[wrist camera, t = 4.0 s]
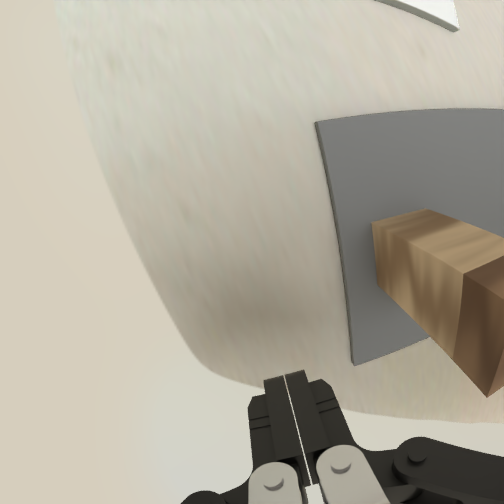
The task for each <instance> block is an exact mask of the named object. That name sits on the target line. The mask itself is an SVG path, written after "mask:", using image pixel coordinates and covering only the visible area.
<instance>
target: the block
mask: <svg viewBox="0 0 504 504" xmlns="http://www.w3.org/2000/svg"><path fill="white" fill-rule="evenodd" d="M371 224H372V232H373V241H374V250H375V261H376V273H377V285H378V286H379V287H380V288H381V289H383V290H384V291H385V292H386V293H387V294H388V295H389V296H390V297H391V298H392V299H393V300H394V301H395V302H396V303H397V304H398V305H399V306H400V307H401V308H402V309H403V310H404V311H405V312H406V313H407V314H408V315H409V316H410V317H411V318H412V319H413V320H414V321H415V322H416V323H417V324H418V325H419V326H420V327H421V328H422V329H423V330H424V331H425V332H426V333H427V334H428V335H429V336H430V337H431V338H432V339H433V340H434V341H435V342H436V343H437V344H438V345H439V346H440V347H441V348H442V349H443V350H444V351H445V352H446V353H447V354H448V355H449V356H450V358H451V359H452V360H453V361H454V362H455V363H456V364H457V365H458V366H459V367H460V368H461V369H462V370H463V372H464V373H465V374H466V375H467V376H468V377H469V378H470V379H471V380H472V381H473V383H474V384H475V385H476V386H477V387H478V388H479V389H480V390H481V392H482V393H483V394H484V395H485V396H486V397H489V396H490V395H492V394H493V393H494V392H496V391H497V390H499V389H500V388H502V387H503V386H504V238H503V237H501V236H498V235H496V234H493V233H491V232H488V231H486V230H483V229H481V228H478V227H476V226H473V225H471V224H468V223H465V222H463V221H460V220H457V219H455V218H452V217H449V216H446V215H443V214H441V213H438V212H435V211H432V210H429V209H426V208H425V209H421V210H417V211H413V212H409V213H405V214H402V215H398V216H394V217H390V218H386V219H382V220H378V221H374V222H371Z"/></svg>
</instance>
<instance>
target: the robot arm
mask: <svg viewBox="0 0 504 504" xmlns="http://www.w3.org/2000/svg"><path fill="white" fill-rule="evenodd" d="M285 378H286V382H287V386H288V390H289V394H290V398H291V402H292V405H293V410H294V414H295V417H296V421H297V425H298V429H299V433H300V437H301V441H302V445H303V449H304V453H305V457H306V460H307V464H308V468H309V472H310V476H311V479H312V483H313V484H318V483H319V486H320V489H321V493H322V497H323V502H324V504H504V457H501V456H496V455H491V454H487V453H482V452H478V451H474V450H470V449H465V448H462V447H458V446H454V445H451V444H447V443H444V442H440V441H437V440H433V439H430V438H426V437H414V438H411V439H408V440H406V441H404V442H403V443H402V444H401V445H400V446H399V447H398V448H397V449H393V450H384V451H369V450H366V449H363V448H361V447H360V446H359V445H357V444H356V442H355V441H354V439H353V437H352V435H351V432H350V430H349V428H348V425H347V423H346V420H345V418H344V416H343V413H342V411H341V408H340V406H339V404H338V401H337V399H336V397H335V394H334V392H333V390H332V387H331V386H330V385H329V384H327V383H326V382H325V381H324V380H322V379H320V380H316V381H313V382H308V380H307V377H306V374H305V371H304V370H301V371H297V372H293V373H290V374H286V375H285ZM264 388H265V394H263V395H259V396H254V397H252V400H251V402H250V404H249V406H248V417H249V428H250V439H251V448H252V458H253V470H252V473H251V475H250V477H249V478H248V479H247V481H246V482H245V483H243V484H242V485H240V486H239V487H237V488H234V489H232V490H230V491H227V492H225V493H222V494H217V493H215V492H212V491H199V492H195V493H193V494H191V495H189V496H188V497H187V498H186V499H185V500H184V501H183V502H182V503H181V504H308V498H307V494H306V489H305V487H306V486H310V485H311V484H310V480H309V476H308V472H307V468H306V464H305V460H304V456H303V452H302V448H301V444H300V440H299V435H298V431H297V428H296V423H295V420H294V415H293V412H292V408H291V404H290V400H289V396H288V393H287V389H286V385H285V381H284V378H283V375H282V376H279V377H275V378H270V379H266V380H264Z"/></svg>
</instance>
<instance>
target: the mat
mask: <svg viewBox="0 0 504 504" xmlns="http://www.w3.org/2000/svg"><path fill="white" fill-rule="evenodd" d="M315 126H316V130H317V134H318V138H319V143H320V147H321V151H322V156H323V160H324V165H325V170H326V175H327V180H328V185H329V190H330V195H331V200H332V206H333V211H334V217H335V223H336V229H337V235H338V242H339V248H340V255H341V262H342V269H343V277H344V285H345V293H346V302H347V311H348V321H349V331H350V343H351V356H352V363H353V365H354V366H357V365H360V364H362V363H365V362H368V361H371V360H374V359H376V358H379V357H382V356H384V355H387V354H390V353H392V352H395V351H397V350H400V349H402V348H405V347H407V346H410V345H412V344H414V343H417V342H419V341H421V340H424V339H426V338H428V337H430V336H429V335H428V334H427V333H426V332H425V331H424V330H423V329H422V328H421V327H420V326H419V325H418V324H417V323H416V322H415V321H414V320H413V319H412V318H411V317H410V316H409V315H408V314H407V313H406V312H405V311H404V310H403V309H402V308H401V307H400V306H399V305H398V304H397V303H396V302H395V301H394V300H393V299H392V298H391V297H390V296H389V295H388V294H387V293H386V292H385V291H384V290H383V289H381V288H380V287H379V286H378V285H377V273H376V261H375V250H374V241H373V232H372V224H371V222H374V221H378V220H382V219H386V218H390V217H394V216H398V215H402V214H405V213H409V212H413V211H417V210H421V209H425V208H426V209H429V210H432V211H435V212H438V213H441V214H443V215H446V216H449V217H452V218H455V219H457V220H460V221H463V222H465V223H468V224H471V225H473V226H476V227H478V228H481V229H483V230H486V231H488V232H491V233H493V234H496V235H498V236H501V237H503V238H504V110H503V109H430V110H412V111H399V112H388V113H377V114H368V115H360V116H352V117H345V118H338V119H331V120H325V121H318V122H315Z"/></svg>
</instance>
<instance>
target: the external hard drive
mask: <svg viewBox="0 0 504 504" xmlns="http://www.w3.org/2000/svg"><path fill="white" fill-rule="evenodd" d="M375 1H379V2H382V3H385V4H388V5H391V6H393V7H396V8H399V9H402V10H404V11H407V12H410V13H412V14H414V15H417V16H419V17H422V18H424V19H426V20H429V21H431V22H433V23H435V24H437V25H440V26H442V27H444V28H446V29H448V30H450V31H452V32H456V31H458V30H460V28H459V23H458V18H457V14H456V9H455V5H454V1H453V0H375Z"/></svg>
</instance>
